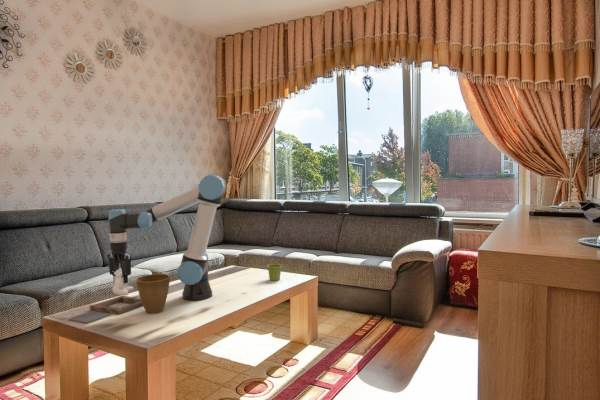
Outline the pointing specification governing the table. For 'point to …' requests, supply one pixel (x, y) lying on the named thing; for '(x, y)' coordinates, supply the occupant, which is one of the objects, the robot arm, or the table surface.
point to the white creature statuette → (120, 285)
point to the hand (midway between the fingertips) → (121, 289)
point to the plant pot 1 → (153, 291)
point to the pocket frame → (104, 305)
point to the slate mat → (89, 317)
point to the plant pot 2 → (274, 271)
